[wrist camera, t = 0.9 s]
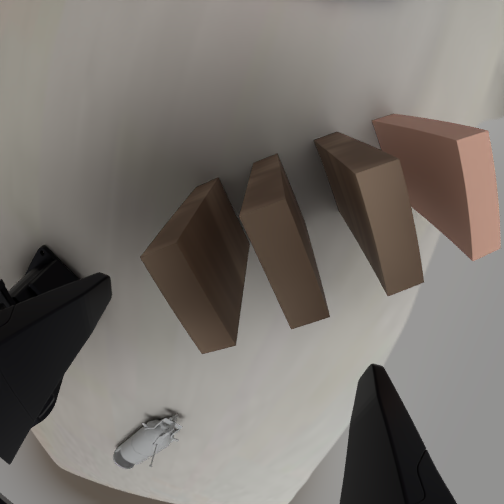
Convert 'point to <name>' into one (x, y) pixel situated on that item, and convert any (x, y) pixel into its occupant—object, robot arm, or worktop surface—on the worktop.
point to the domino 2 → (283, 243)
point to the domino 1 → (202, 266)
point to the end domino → (447, 177)
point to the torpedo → (146, 442)
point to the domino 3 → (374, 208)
